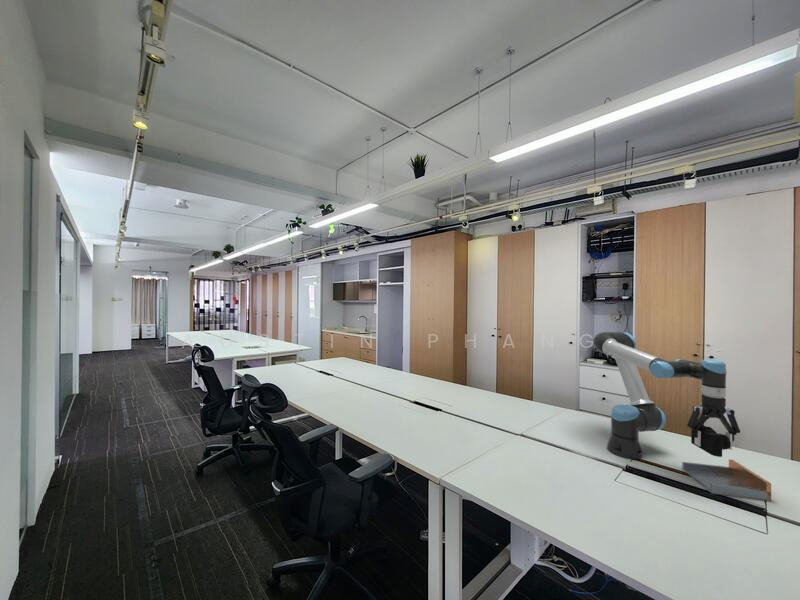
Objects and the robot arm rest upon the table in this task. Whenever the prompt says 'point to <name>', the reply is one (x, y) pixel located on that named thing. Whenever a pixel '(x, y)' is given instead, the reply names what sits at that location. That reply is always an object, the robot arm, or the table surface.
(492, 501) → the table surface
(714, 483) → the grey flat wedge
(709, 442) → the camera
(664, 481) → the table surface
